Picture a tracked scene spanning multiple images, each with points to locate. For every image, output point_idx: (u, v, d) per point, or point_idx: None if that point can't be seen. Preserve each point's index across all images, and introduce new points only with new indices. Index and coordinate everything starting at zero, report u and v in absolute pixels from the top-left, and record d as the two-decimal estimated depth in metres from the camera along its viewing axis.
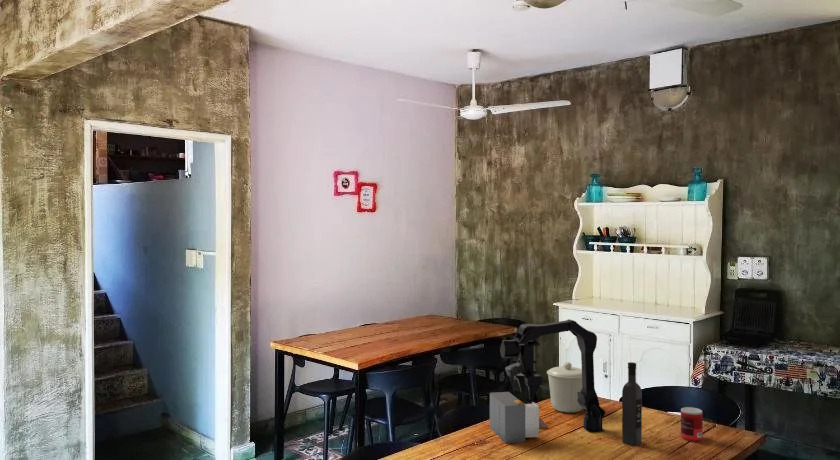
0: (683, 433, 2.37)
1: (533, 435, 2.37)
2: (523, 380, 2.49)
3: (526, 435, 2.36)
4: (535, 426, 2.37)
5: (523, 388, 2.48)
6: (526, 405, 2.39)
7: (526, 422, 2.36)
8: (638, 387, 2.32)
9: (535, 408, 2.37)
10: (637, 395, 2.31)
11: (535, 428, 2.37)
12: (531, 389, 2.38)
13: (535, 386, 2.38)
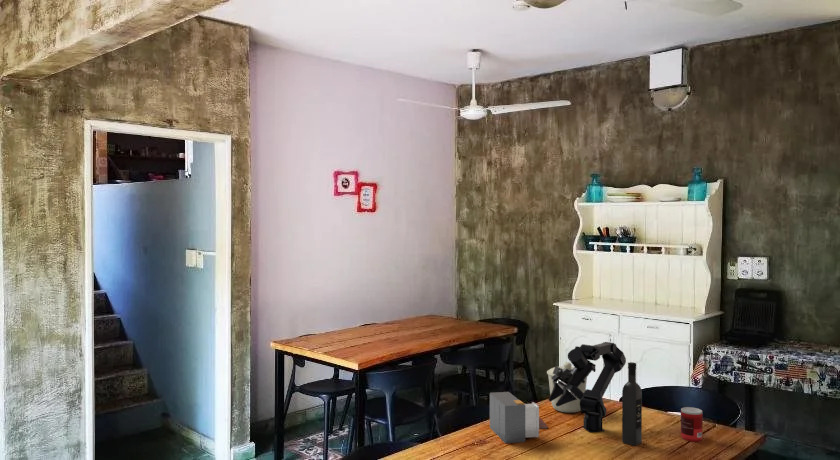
0: (683, 433, 2.37)
1: (533, 435, 2.37)
2: (558, 391, 2.45)
3: (526, 435, 2.36)
4: (535, 426, 2.37)
5: (553, 397, 2.44)
6: (526, 405, 2.39)
7: (526, 422, 2.36)
8: (638, 387, 2.32)
9: (535, 408, 2.37)
10: (637, 395, 2.31)
11: (535, 428, 2.37)
12: (564, 397, 2.37)
13: (569, 397, 2.37)
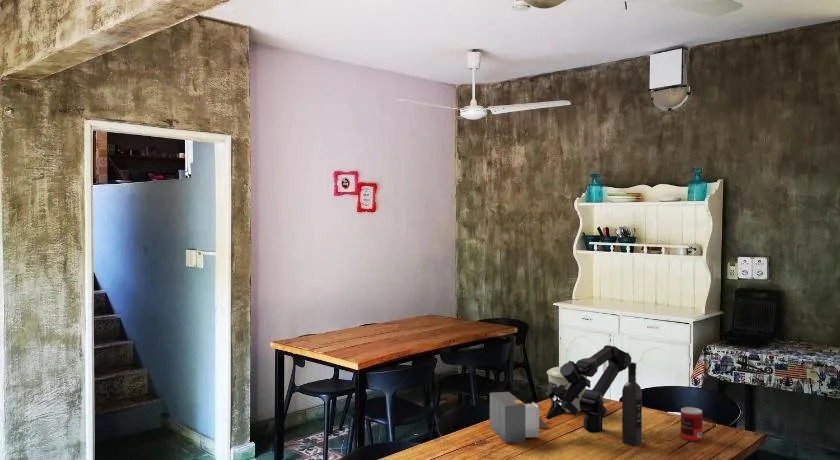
0: (683, 433, 2.37)
1: (533, 435, 2.37)
2: None
3: (526, 435, 2.36)
4: (535, 426, 2.37)
5: None
6: (526, 405, 2.39)
7: (526, 422, 2.36)
8: (638, 387, 2.32)
9: (535, 408, 2.37)
10: (637, 395, 2.31)
11: (535, 428, 2.37)
12: (555, 410, 2.39)
13: (560, 411, 2.39)
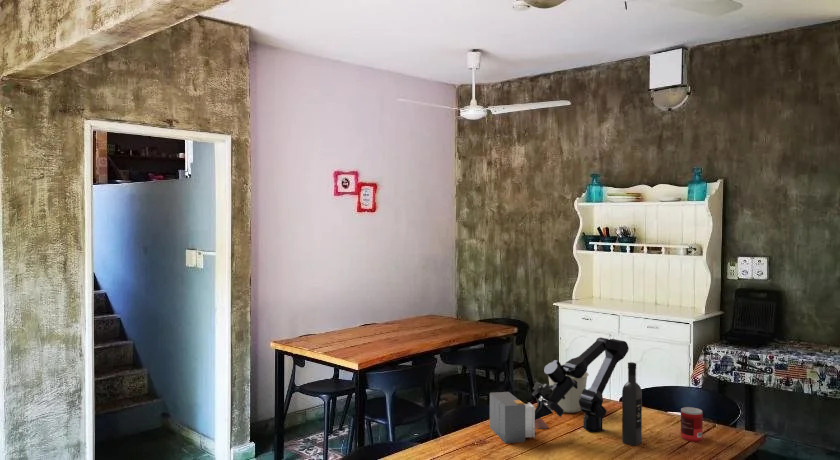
0: (683, 433, 2.37)
1: (529, 435, 2.36)
2: None
3: None
4: (531, 426, 2.37)
5: None
6: None
7: None
8: (638, 387, 2.32)
9: (531, 408, 2.37)
10: (637, 395, 2.31)
11: (531, 428, 2.37)
12: (541, 411, 2.38)
13: (546, 411, 2.38)
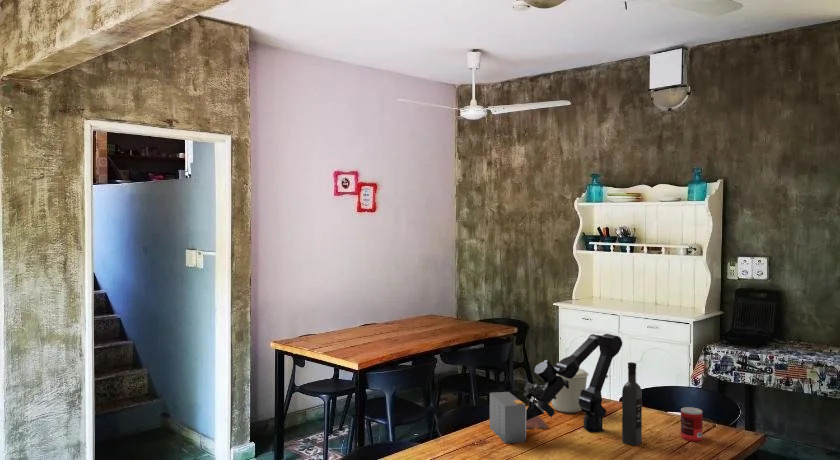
0: (683, 433, 2.37)
1: None
2: None
3: None
4: None
5: None
6: None
7: None
8: (638, 387, 2.32)
9: None
10: (637, 395, 2.31)
11: None
12: (532, 411, 2.37)
13: (537, 412, 2.37)
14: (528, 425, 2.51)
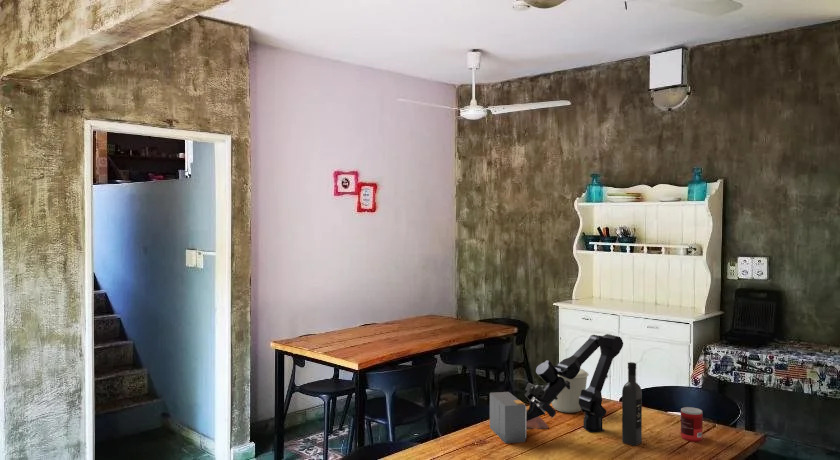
0: (683, 433, 2.37)
1: None
2: None
3: None
4: None
5: None
6: None
7: None
8: (638, 387, 2.32)
9: None
10: (637, 395, 2.31)
11: None
12: (533, 412, 2.37)
13: (538, 412, 2.38)
14: (528, 425, 2.51)
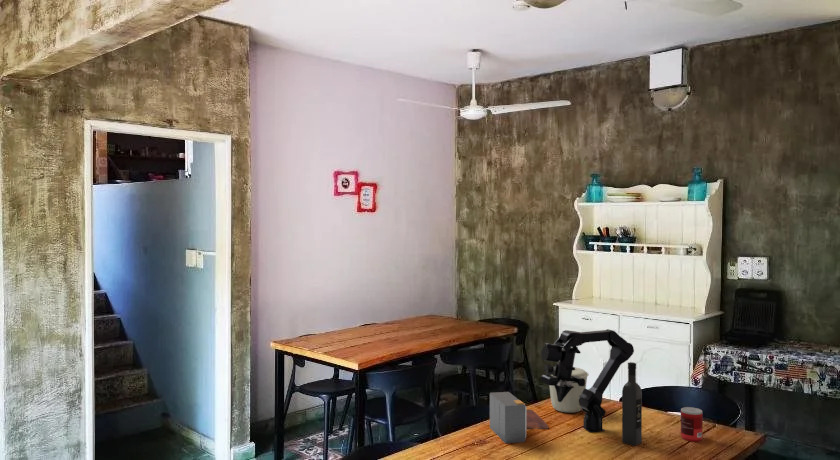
0: (683, 433, 2.37)
1: None
2: None
3: None
4: None
5: None
6: None
7: None
8: (638, 387, 2.32)
9: None
10: (637, 395, 2.31)
11: None
12: (557, 390, 2.46)
13: (560, 388, 2.44)
14: (528, 425, 2.51)
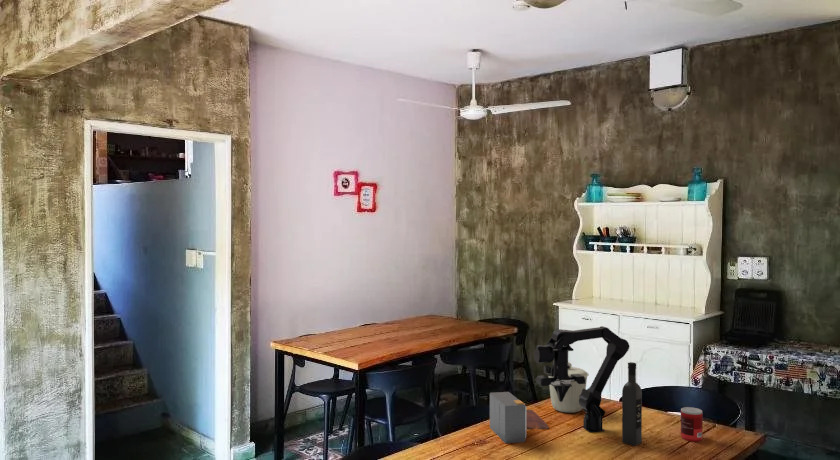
0: (683, 433, 2.37)
1: None
2: (562, 388, 2.46)
3: None
4: None
5: None
6: None
7: None
8: (638, 387, 2.32)
9: None
10: (637, 395, 2.31)
11: None
12: (556, 390, 2.47)
13: None
14: (529, 425, 2.51)
